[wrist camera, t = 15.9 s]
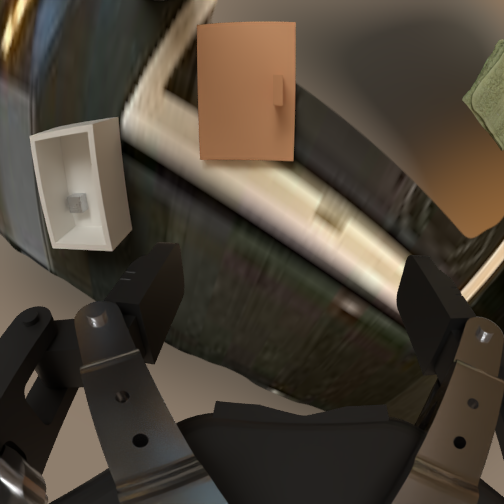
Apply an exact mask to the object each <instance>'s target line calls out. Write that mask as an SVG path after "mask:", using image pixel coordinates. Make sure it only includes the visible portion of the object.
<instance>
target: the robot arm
mask: <svg viewBox="0 0 504 504" xmlns="http://www.w3.org/2000/svg"><path fill="white" fill-rule="evenodd" d="M153 1H166V0H153ZM183 295H184V275H183V266H182V257H181V249H180V245H179V244H178V243H162V242H158V243H156V245H155V246H154V247H153V249H152V250H151V251H150V253H149V254H148V255H143V256H141V257H139V258H138V259H136V260H135V261H133V262H132V263H131V264H130V266H129V267H128V268H127V270H126V272H124V274H123V275H122V276H121V279H119V280H118V282H117V283H116V284H115V286H114V287H113V289H112V290H111V291H110V293H109V294H108V295H107V297H106V298H105V300H104V301H97V302H93V303H90V304H88V305H86V306H84V307H83V308H81V309H80V310H79V311H78V313H77V314H76V316H75V319H68V320H56V321H54V320H53V317H52V315H51V312H50V310H49V309H47V308H45V307H39V306H38V307H32V308H29V309H26V310H25V311H23V312H21V313H20V314H19V315H18V316H17V317H16V318H15V319H14V321H13V322H12V323H11V325H10V326H9V327H8V328H7V330H6V331H5V332H4V334H3V335H2V336H1V338H0V504H47V503H48V497H47V495H46V484H45V481H44V479H43V477H42V473H43V471H44V468H45V466H46V463H47V460H48V458H49V455H50V453H51V450H52V448H53V445H54V443H55V440H56V438H57V436H58V433H59V430H60V428H61V426H62V424H63V421H64V419H65V417H66V415H67V412H68V410H69V408H70V406H71V403H72V401H73V399H74V397H75V395H76V392H77V390H78V388H79V387H84V390H85V394H86V398H87V402H88V405H89V409H90V412H91V416H92V419H93V422H94V426H95V429H96V432H97V435H98V438H99V441H100V444H101V447H102V450H103V453H104V456H105V458H106V461H107V464H108V467H109V468H108V469H106V470H105V471H103V472H102V473H100V474H98V475H97V476H95V477H93V478H92V479H90V480H89V481H87V482H85V483H84V484H82V485H80V486H79V487H77V488H75V489H73V490H72V491H70V492H68V493H67V494H65V495H63V496H61V497H60V498H58V499H56V500H54V501H52V502H51V503H49V504H504V497H503V496H501V495H500V494H499V493H498V492H497V491H495V490H494V489H493V488H492V487H490V486H489V485H488V484H487V483H485V482H484V481H483V480H482V479H481V478H480V477H481V474H482V471H483V469H484V465H485V463H486V459H487V456H488V453H489V450H490V446H491V443H492V439H493V436H494V432H495V431H496V435H497V438H498V441H499V445H500V448H501V451H502V455H503V459H504V336H503V333H502V331H501V329H500V328H499V327H498V326H497V325H496V324H495V323H493V322H492V321H490V320H488V319H486V318H482V317H476V315H475V314H474V312H473V311H472V309H471V307H470V306H469V304H468V303H467V301H466V300H465V298H464V297H463V296H461V295H462V294H461V292H460V291H459V290H458V289H457V287H456V285H455V284H454V282H453V281H452V279H451V278H450V277H448V276H447V275H446V274H445V273H443V272H442V271H441V270H439V269H438V268H437V266H436V265H435V264H434V262H433V261H432V259H431V258H430V257H429V256H415V255H410V256H408V258H407V260H406V263H405V267H404V271H403V274H402V278H401V281H400V285H399V289H398V292H397V308H398V311H399V313H400V316H401V318H402V321H403V323H404V325H405V328H406V330H407V333H408V335H409V338H410V341H411V343H412V346H413V348H414V351H415V354H416V356H417V359H418V362H419V364H420V367H421V370H422V373H423V375H434V374H437V377H438V379H437V380H436V382H435V384H434V386H433V388H432V390H431V392H430V394H429V397H428V399H427V401H426V403H425V405H424V407H423V409H422V411H421V413H420V415H419V417H418V419H417V421H416V423H415V425H413V424H411V423H409V422H406V421H404V420H401V419H397V418H393V417H388V412H387V407H386V405H371V406H347V407H343V408H339V409H335V410H330V411H326V412H322V413H317V414H312V415H307V416H301V415H296V414H292V413H288V412H284V411H280V410H276V409H273V408H269V407H265V406H261V405H255V404H242V403H231V402H220V401H216V403H215V408H214V413H208V414H202V415H197V416H194V417H190V418H187V419H185V420H182V421H180V422H178V423H175V421H174V419H173V417H172V416H171V414H170V412H169V410H168V408H167V406H166V404H165V402H164V400H163V398H162V397H161V395H160V392H159V391H158V388H157V386H156V385H155V383H154V380H153V378H152V376H151V375H150V372H149V370H148V368H147V366H146V364H145V363H149V364H155V362H156V360H157V357H158V355H159V353H160V350H161V348H162V345H163V343H164V341H165V338H166V336H167V333H168V331H169V329H170V326H171V324H172V322H173V319H174V317H175V315H176V312H177V310H178V308H179V305H180V303H181V301H182V298H183ZM34 369H35V371H36V372H37V374H38V377H37V379H36V381H35V383H34V384H33V386H32V388H31V390H30V391H29V393H28V395H27V397H26V399H25V395H24V389H25V385H26V383H27V381H28V380H29V378H30V376H31V375H32V373H33V371H34Z"/></svg>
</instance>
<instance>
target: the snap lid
mask: <svg viewBox="0 0 504 504" xmlns="http://www.w3.org/2000/svg"><path fill="white" fill-rule="evenodd" d="M197 73H198V115H199V142H200V160H276V161H293V159H294V127H295V77H296V76H295V75H296V23H295V22H231V23H215V24H202V25H197Z"/></svg>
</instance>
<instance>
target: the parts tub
mask: <svg viewBox="0 0 504 504" xmlns="http://www.w3.org/2000/svg"><path fill="white" fill-rule="evenodd" d="M30 142H31V149H32V156H33V162H34V168H35V174H36V179H37V185H38V190H39V194H40V199H41V204H42V208H43V212H44V217H45V221H46V225H47V229H48V233H49V236H50V240H51V244H52V247H53V248H60V249H79V250H99V251H113V250H114V249H115V248H116V247H117V246H118V245H119V243H120V242H121V241H122V240H123V239H124V238H125V237H126V236H127V235H128V234H129V233H130V231H131V230H132V225H131V219H130V212H129V206H128V199H127V192H126V185H125V177H124V169H123V160H122V151H121V141H120V130H119V117H114V118H107V119H100V120H94V121H88V122H82V123H76V124H71V125H66V126H60V127H56V128H53V129H50V130H47V131H44V132H41V133H38V134H35V135H32V136H30ZM91 164H92V165H91ZM73 193H86V198H87V203H88V209H87V210H86V211H85V212H83V213H70V210H69V206H68V201H67V197H68V196H70V195H71V194H73Z"/></svg>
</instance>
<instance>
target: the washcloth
mask: <svg viewBox="0 0 504 504" xmlns="http://www.w3.org/2000/svg"><path fill="white" fill-rule="evenodd" d="M462 101H463V102H464V103H465V104H466V105H467V106H468V107H469V109H471V111H472V113H473V114H474V116H475V117H476V119H477V120H478V121H479V123H480V124H481V126H482V127H483V128H484V129H485V130H486V131H487V132H488V133H489V134H490V136H491V137H492V138H493V139H494V141H495V142H496V143H497V145H498V146H499V148H500V149H501V150H502V151H503V150H504V39H503V40H499V41H498V43H497V45H495V49H494V50H493V53H492V54H491V55H490V56H489V57H488V59H487V61H486V62H485V64H484V67H483V69H482V70H481V72H480V74H479V75H478V78H477V79H476V81H475V83H474V84H473V86H472V87H471V90H470V91H468V92H467V93H466V95H465V96H463V99H462Z"/></svg>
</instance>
